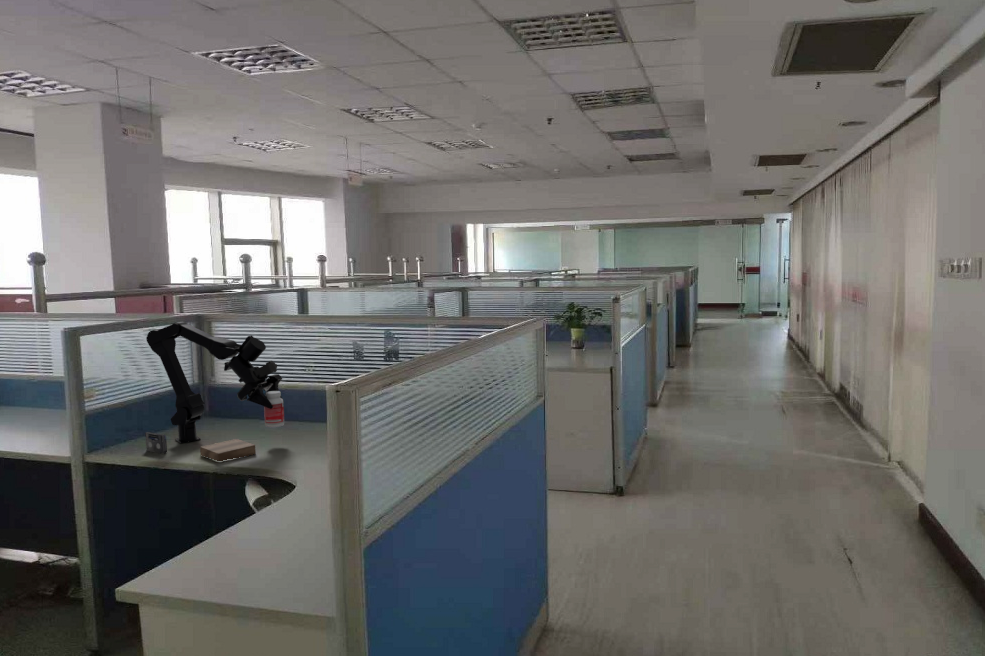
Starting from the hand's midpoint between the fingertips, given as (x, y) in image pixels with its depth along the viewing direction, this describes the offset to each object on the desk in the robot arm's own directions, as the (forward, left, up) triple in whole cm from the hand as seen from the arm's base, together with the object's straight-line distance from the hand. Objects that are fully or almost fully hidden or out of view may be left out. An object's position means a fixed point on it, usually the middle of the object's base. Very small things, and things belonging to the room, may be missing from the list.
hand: (277, 405), depth 236 cm
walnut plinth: (-1, -17, -13) cm, 21 cm away
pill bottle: (-1, -1, -7) cm, 7 cm away
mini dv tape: (-22, -32, -13) cm, 41 cm away
